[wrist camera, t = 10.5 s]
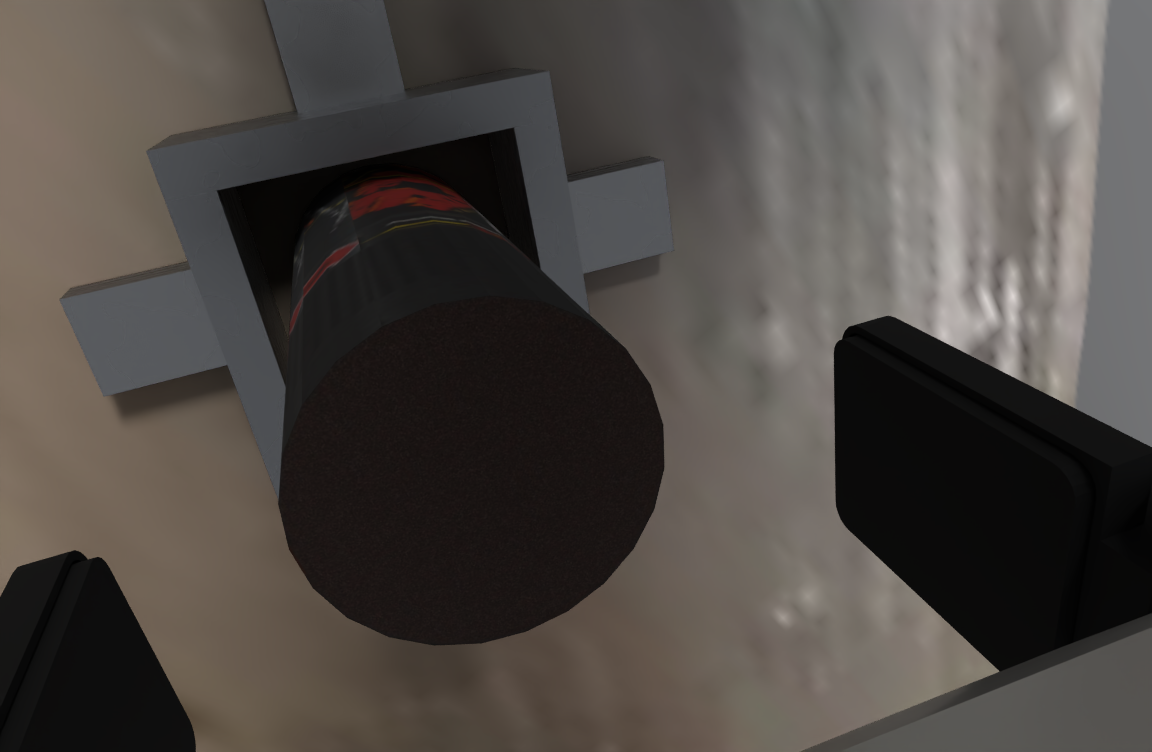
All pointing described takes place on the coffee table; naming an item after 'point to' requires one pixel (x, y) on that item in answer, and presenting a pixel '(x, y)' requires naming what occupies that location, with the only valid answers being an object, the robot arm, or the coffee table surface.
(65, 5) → the coffee table surface
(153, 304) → the tabbed square frame
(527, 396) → the deodorant
